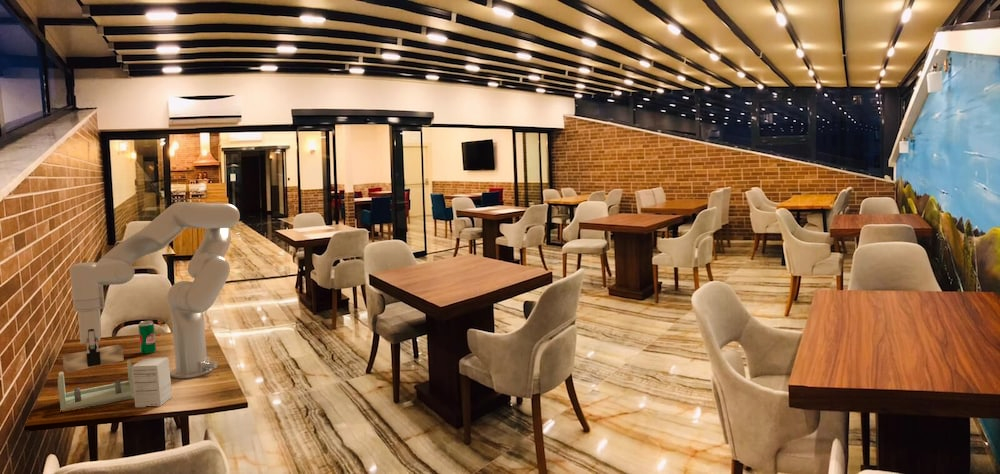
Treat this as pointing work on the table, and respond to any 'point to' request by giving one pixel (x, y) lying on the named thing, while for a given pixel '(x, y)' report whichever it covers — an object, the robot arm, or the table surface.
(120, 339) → the table surface
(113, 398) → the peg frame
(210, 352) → the table surface
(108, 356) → the shelf board
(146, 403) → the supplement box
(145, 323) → the soda can
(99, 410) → the table surface
